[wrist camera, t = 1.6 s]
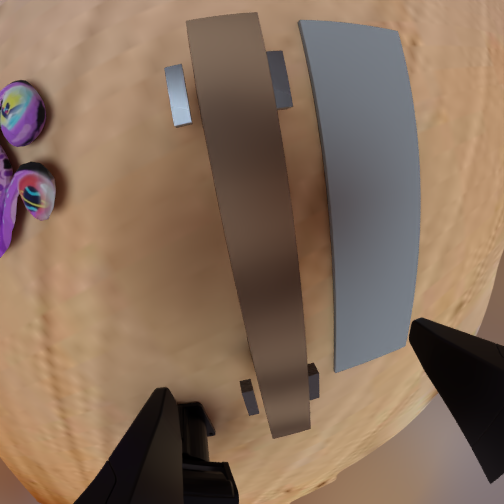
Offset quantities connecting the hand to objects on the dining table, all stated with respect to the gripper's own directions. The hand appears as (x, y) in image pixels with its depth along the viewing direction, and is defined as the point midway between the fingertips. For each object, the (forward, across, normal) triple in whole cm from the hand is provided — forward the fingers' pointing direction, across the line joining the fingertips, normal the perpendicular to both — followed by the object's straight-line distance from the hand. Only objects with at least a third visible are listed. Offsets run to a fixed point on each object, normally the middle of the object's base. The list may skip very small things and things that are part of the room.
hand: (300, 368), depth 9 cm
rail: (+8, 0, 0) cm, 8 cm away
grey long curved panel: (+13, -11, 0) cm, 17 cm away
